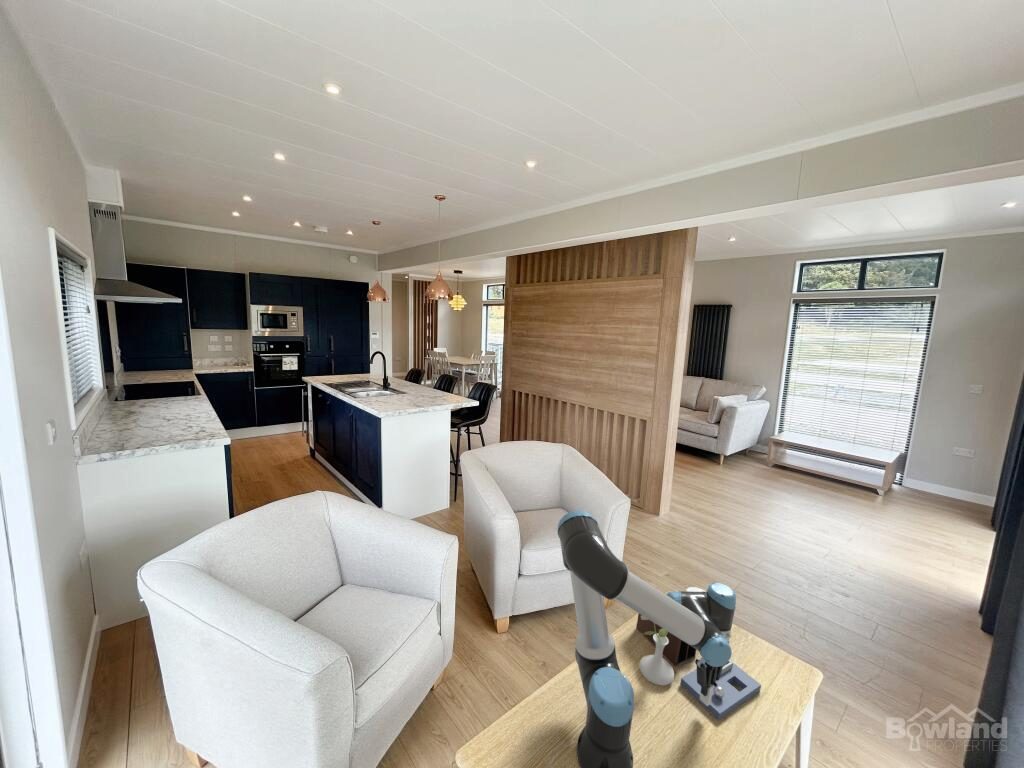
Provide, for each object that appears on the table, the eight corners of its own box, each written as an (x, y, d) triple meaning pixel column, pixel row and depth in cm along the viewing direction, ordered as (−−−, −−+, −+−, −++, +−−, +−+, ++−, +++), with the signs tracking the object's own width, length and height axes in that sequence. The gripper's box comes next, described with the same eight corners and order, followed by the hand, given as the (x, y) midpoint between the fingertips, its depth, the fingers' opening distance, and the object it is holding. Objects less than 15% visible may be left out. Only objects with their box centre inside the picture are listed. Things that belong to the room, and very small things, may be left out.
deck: (718, 720, 128) (720, 708, 127) (680, 684, 140) (682, 672, 139) (759, 691, 139) (762, 679, 138) (721, 659, 151) (723, 649, 150)
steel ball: (719, 702, 131) (721, 693, 131) (710, 694, 134) (711, 685, 133) (725, 698, 133) (727, 689, 132) (716, 690, 136) (718, 681, 135)
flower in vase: (668, 662, 148) (677, 599, 144) (677, 691, 137) (688, 624, 133) (631, 657, 150) (638, 595, 145) (637, 685, 138) (645, 619, 134)
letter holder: (675, 668, 146) (680, 632, 144) (635, 628, 164) (639, 596, 161) (695, 658, 151) (700, 624, 148) (654, 621, 168) (658, 590, 166)
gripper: (712, 651, 119) (701, 721, 123) (740, 636, 125) (729, 702, 130) (690, 633, 125) (680, 700, 130) (717, 619, 132) (707, 683, 136)
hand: (704, 701), depth 130 cm, fingers closed
